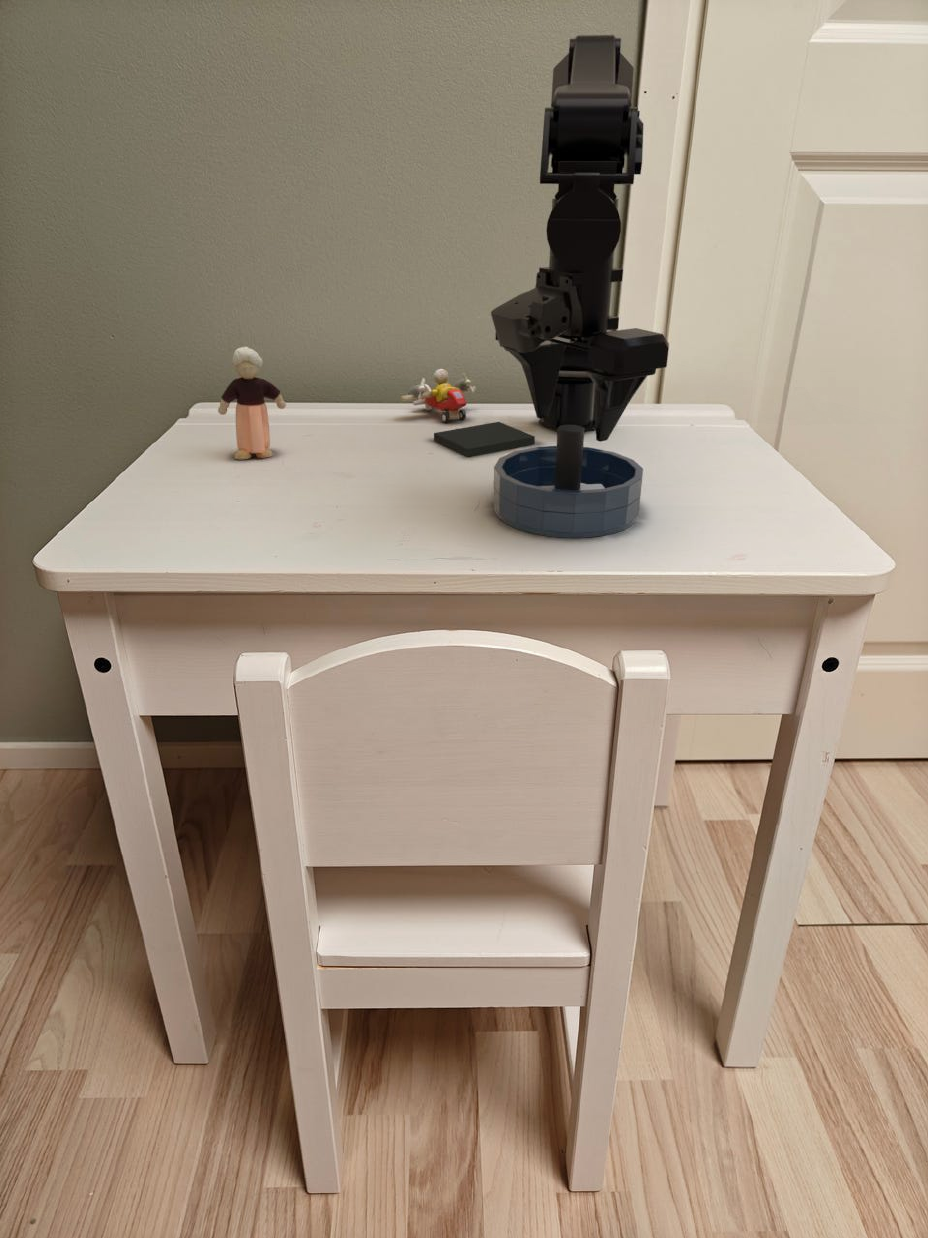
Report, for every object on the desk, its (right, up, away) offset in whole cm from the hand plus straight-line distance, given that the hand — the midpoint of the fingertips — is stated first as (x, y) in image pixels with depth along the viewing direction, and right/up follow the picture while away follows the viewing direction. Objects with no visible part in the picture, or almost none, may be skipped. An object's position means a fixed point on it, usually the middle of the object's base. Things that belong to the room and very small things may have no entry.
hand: (570, 428), depth 84 cm
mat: (-8, +4, +25) cm, 26 cm away
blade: (0, -7, +4) cm, 8 cm away
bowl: (0, -7, +4) cm, 8 cm away
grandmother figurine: (-35, +1, +20) cm, 40 cm away
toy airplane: (-14, +10, +36) cm, 40 cm away
